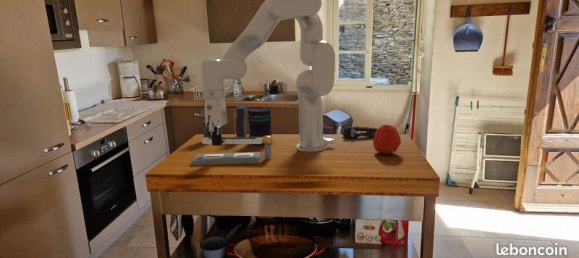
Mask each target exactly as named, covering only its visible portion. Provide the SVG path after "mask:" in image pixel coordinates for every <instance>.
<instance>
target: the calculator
mask: <svg viewBox="0 0 579 258" xmlns="http://www.w3.org/2000/svg"><path fill="white" fill-rule="evenodd" d="M247 115H248V105H247V104H240V105H238V106H237V107H235V134H236V136H235V137H248V132H247V131H248V129H247Z"/></svg>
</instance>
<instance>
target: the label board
mask: <svg viewBox="0 0 579 258" xmlns="http://www.w3.org/2000/svg"><path fill="white" fill-rule="evenodd" d="M261 157H262V152H261V151H246V152H241V151H240V152H218V153H215V152H213V153H197V154H196V155H195V156H194V157H193V159H192V160H191V166H209V165H210V166H213V165H214V166H215V165H240V164H241V165H243V164H244V165H245V164H247V165H248V164H260V162H261ZM264 160H266V161H271V160H272V144H271V143H270V144H264Z"/></svg>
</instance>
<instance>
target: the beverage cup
mask: <svg viewBox="0 0 579 258" xmlns="http://www.w3.org/2000/svg"><path fill="white" fill-rule="evenodd" d="M199 118H200V122H201V128H202V132H203V133H202V134H203V139H204V138H205V137H212V135H211V132H209V127H206V124H205V107H204V108H202V110H201V111H200V115H199Z"/></svg>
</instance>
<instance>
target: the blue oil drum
mask: <svg viewBox="0 0 579 258" xmlns="http://www.w3.org/2000/svg"><path fill="white" fill-rule="evenodd" d="M247 119H248V122H247V123H248V124H249V125H248V126H249V127H248V128H249V132H248V134H249V135H248V137H262V136H266V135H270V136H272V137H273V133H272V132H273V131H272V109H271V108H269V107H254V108H249V109H247ZM249 145H250V146H252V147H255V146H256V147H255V148H257V147H259V148H262V146H264V143H263V142H262V143H261V144H249ZM271 145H273V142H272V143H271Z"/></svg>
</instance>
